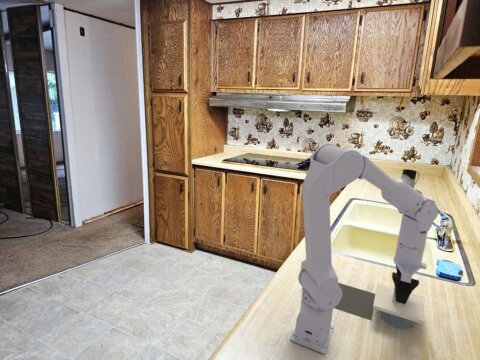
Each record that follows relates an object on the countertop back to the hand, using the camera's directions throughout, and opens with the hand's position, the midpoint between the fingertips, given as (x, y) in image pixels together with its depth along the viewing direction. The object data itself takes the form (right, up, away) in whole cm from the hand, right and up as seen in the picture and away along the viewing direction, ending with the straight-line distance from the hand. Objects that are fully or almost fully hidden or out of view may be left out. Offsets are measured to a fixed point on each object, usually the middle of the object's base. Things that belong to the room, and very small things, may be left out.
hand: (401, 294), depth 79 cm
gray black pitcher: (+66, +20, +120) cm, 138 cm away
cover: (0, -3, +1) cm, 3 cm away
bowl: (0, -7, +2) cm, 7 cm away
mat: (-10, -5, +9) cm, 14 cm away
